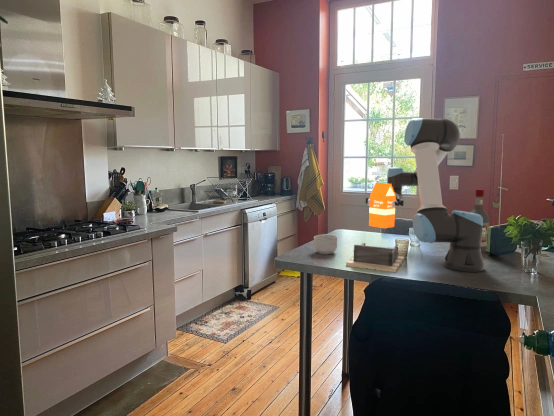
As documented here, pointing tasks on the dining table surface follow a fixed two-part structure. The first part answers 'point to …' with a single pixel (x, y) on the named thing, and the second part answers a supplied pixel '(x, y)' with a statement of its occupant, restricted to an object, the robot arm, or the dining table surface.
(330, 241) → the teacup
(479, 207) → the liquor
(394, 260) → the keeper cradle
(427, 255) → the dining table surface
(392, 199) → the orange juice
